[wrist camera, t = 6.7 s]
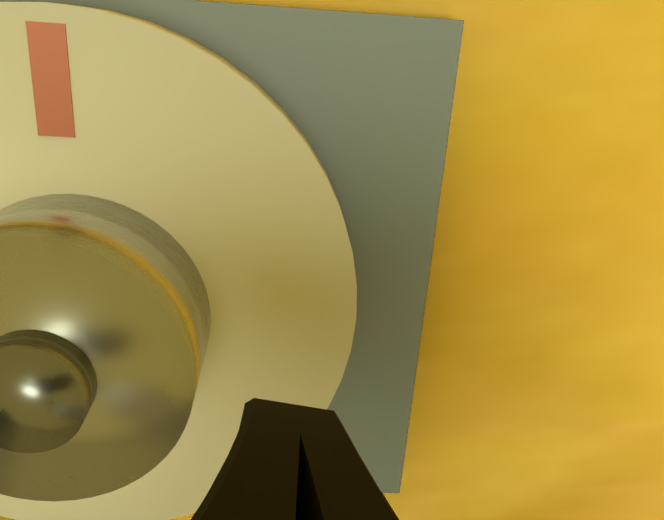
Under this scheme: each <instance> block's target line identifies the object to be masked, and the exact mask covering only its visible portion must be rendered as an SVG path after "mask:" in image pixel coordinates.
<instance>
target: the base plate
mask: <svg viewBox="0 0 664 520" xmlns="http://www.w3.org/2000/svg"><path fill="white" fill-rule="evenodd" d="M0 2H49V3H59V4H69V5H76V6H83V7H90V8H98V9H105V10H111V11H114V12H118V13H122V14H125V15H129V16H132V17H136V18H140V19H143V20H147V21H150V22H153V23H155V24H158V25H160V26H162V27H165V28H167V29H169V30H172V31H174V32H177V33H179V34H181V35H184V36H186V37H188V38H190V39H192V40H194V41H195V42H197V43H199V44H201V45H202V46H204V47H206V48H207V49H209V50H211V51H213V52H214V53H216V54H218V55H220V56H221V57H223V58H225V59H226V60H227V61H229V62H230V63H231V64H233V65H234V66H235V67H236V68H238V69H239V70H240V71H242V72H243V73H244V74H246V75H247V76H248V77H250V78H251V79H252V80H254V81H255V82H256V83H257V84H258V85H259V86H260V87H261V88H262V89H263V90H264V91H265V92H266V93H267V94H268V95H269V96H270V97H271V98H272V99H273V100H274V101H275V102H276V103H277V104H278V105H280V106H281V107H282V108H283V109H284V111H285V112H286V113H287V114H288V116H289V117H290V118H291V120H292V121H293V122H294V123H295V125H296V126H297V127H298V128H299V130H300V131H301V132H302V134H303V135H304V136H305V137H306V139H307V140H308V142H309V144H310V145H311V147H312V149H313V150H314V152H315V154H316V155H317V157H318V159H319V160H320V162H321V164H322V166H323V167H324V169H325V171H326V173H327V176H328V178H329V180H330V183H331V185H332V187H333V190H334V192H335V194H336V197H337V199H338V202H339V205H340V208H341V212H342V215H343V218H344V222H345V226H346V229H347V233H348V237H349V240H350V244H351V248H352V251H353V258H354V266H355V274H356V282H357V312H356V324H355V330H354V336H353V342H352V348H351V352H350V355H349V358H348V362H347V365H346V368H345V371H344V374H343V377H342V380H341V382H340V384H339V386H338V388H337V390H336V392H335V395H334V397H333V399H332V401H331V403H330V405H329V407H328V408H327V410H333V411H335V413H336V414H337V416H338V418H339V419H340V421H341V423H342V424H343V426H344V428H345V430H346V432H347V433H348V435H349V437H350V439H351V441H352V442H353V444H354V446H355V448H356V450H357V451H358V453H359V455H360V457H361V458H362V460H363V462H364V463H365V465H366V467H367V469H368V470H369V472H370V474H371V475H372V477H373V479H374V480H375V482H376V484H377V485H378V487H379V489H380V490H381V492H382V493H399V492H400V485H401V478H402V470H403V463H404V456H405V448H406V441H407V434H408V426H409V419H410V412H411V404H412V397H413V390H414V382H415V375H416V368H417V360H418V353H419V346H420V338H421V331H422V324H423V316H424V309H425V302H426V294H427V287H428V280H429V273H430V265H431V258H432V251H433V243H434V236H435V229H436V221H437V214H438V207H439V199H440V192H441V185H442V177H443V170H444V163H445V155H446V148H447V141H448V133H449V126H450V119H451V111H452V104H453V97H454V89H455V82H456V75H457V67H458V60H459V53H460V46H461V38H462V31H463V24H464V20H452V19H439V18H425V17H412V16H399V15H385V14H372V13H358V12H345V11H332V10H318V9H305V8H292V7H278V6H265V5H252V4H238V3H225V2H212V1H198V0H0Z"/></svg>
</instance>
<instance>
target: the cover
mask: <svg viewBox="0 0 664 520" xmlns="http://www.w3.org/2000/svg"><path fill="white" fill-rule="evenodd" d="M210 323H211V315H210V304H209V300H208V295H207V291H206V288H205V285H204V283H203V280H202V278H201V275H200V273H199V271H198V269H197V268H196V266H195V264H194V262H193V261H192V259H191V258H190V256H189V255H188V254H187V252H186V251H185V250H184V248H183V247H182V246H181V245H180V244H179V243H178V242H177V241H176V240H175V239H174V238H173V237H172V236H171V234H169V233H168V232H167V231H166V230H164V229H163V228H162V227H161V226H160V225H158V224H157V223H156V222H154V221H153V220H151V219H149V218H148V217H146V216H145V215H143V214H141V213H140V212H137V211H135V210H133V209H131V208H129V207H127V206H125V205H122V204H119V203H116V202H113V201H111V200H108V199H103V198H99V197H94V196H90V195H80V194H49V195H42V196H36V197H32V198H28V199H25V200H22V201H18V202H16V203H13V204H11V205H9V206H7V207H5V208H2V209H1V210H0V494H2V495H6V496H10V497H14V498H20V499H27V500H35V501H71V500H79V499H85V498H91V497H95V496H99V495H102V494H106V493H110V492H112V491H115V490H117V489H120V488H122V487H125V486H127V485H129V484H130V483H132V482H134V481H136V480H138V479H140V478H141V477H143V476H144V475H145V474H147V473H148V472H150V471H151V470H152V469H154V468H155V467H156V466H157V465H158V464H159V463H160V462H161V461H162V460H163V459H164V458H165V457H167V455H168V454H169V453H170V451H171V450H172V449H173V448H174V446H175V445H176V444H177V442H178V440H179V439H180V437H181V435H182V433H183V431H184V430H185V427H186V424H187V422H188V419H189V416H190V413H191V409H192V405H193V401H194V397H195V393H196V389H197V385H198V381H199V377H200V373H201V369H202V365H203V361H204V357H205V353H206V348H207V344H208V339H209V335H210Z"/></svg>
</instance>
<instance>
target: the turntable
mask: <svg viewBox="0 0 664 520" xmlns="http://www.w3.org/2000/svg"><path fill="white" fill-rule="evenodd" d="M49 194H80V195H90V196H94V197H99V198H103V199H108V200H111V201H113V202H116V203H119V204H122V205H125V206H127V207H129V208H131V209H133V210H135V211H137V212H140V213H141V214H143V215H145V216H146V217H148V218H149V219H151V220H153V221H154V222H156V223H157V224H158V225H160V226H161V227H162V228H163V229H164V230H166V231H167V232H168V233H169V234H171V236H172V237H173V238H174V239H175V240H176V241H177V242H178V243H179V244H180V245H181V246H182V247H183V248H184V250H185V251H186V252H187V254H188V255H189V256H190V258H191V259H192V261H193V262H194V264H195V266H196V268H197V269H198V271H199V273H200V275H201V278H202V280H203V283H204V285H205V288H206V291H207V295H208V300H209V304H210V315H211V323H210V335H209V339H208V344H207V348H206V353H205V357H204V361H203V365H202V369H201V373H200V377H199V381H198V385H197V389H196V393H195V397H194V401H193V405H192V409H191V413H190V416H189V419H188V422H187V424H186V427H185V430H184V431H183V433H182V435H181V437H180V439H179V440H178V442H177V444H176V445H175V446H174V448H173V449H172V450H171V451H170V453H169V454H168V455H167V457H165V458H164V459H163V460H162V461H161V462H160V463H159V464H158V465H157V466H156V467H155V468H154V469H152V470H151V471H150V472H148V473H147V474H145V475H144V476H143V477H141V478H140V479H138V480H136V481H134V482H132V483H130V484H129V485H127V486H125V487H122V488H120V489H117V490H115V491H112V492H110V493H106V494H102V495H99V496H95V497H91V498H85V499H79V500H71V501H35V500H27V499H20V498H14V497H10V496H6V495H2V494H0V516H3V517H7V518H11V519H15V520H171V519H175V518H179V517H182V516H186V515H190V514H193V513H195V512H196V511H197V509H198V508H199V506H200V505H201V503H202V501H203V500H204V498H205V496H206V495H207V493H208V491H209V490H210V488H211V486H212V484H213V482H214V480H215V478H216V477H217V475H218V473H219V471H220V469H221V467H222V465H223V464H224V462H225V460H226V458H227V456H228V454H229V452H230V450H231V447H232V445H233V443H234V441H235V438H236V436H237V433H238V431H239V427H240V423H241V418H242V414H243V410H244V405H245V403H246V402H248V401H250V400H251V399H253V398H258V399H264V400H271V401H277V402H283V403H289V404H295V405H302V406H308V407H314V408H320V409H327V408H328V407H329V405H330V403H331V401H332V399H333V397H334V395H335V392H336V390H337V388H338V386H339V384H340V382H341V380H342V377H343V374H344V371H345V368H346V365H347V362H348V358H349V355H350V352H351V348H352V342H353V336H354V330H355V324H356V312H357V282H356V274H355V266H354V258H353V251H352V248H351V244H350V240H349V237H348V233H347V229H346V226H345V222H344V218H343V215H342V212H341V208H340V205H339V202H338V199H337V197H336V194H335V192H334V190H333V187H332V185H331V183H330V180H329V178H328V176H327V173H326V171H325V169H324V167H323V166H322V164H321V162H320V160H319V159H318V157H317V155H316V154H315V152H314V150H313V149H312V147H311V145H310V144H309V142H308V140H307V139H306V137H305V136H304V135H303V134H302V132H301V131H300V130H299V128H298V127H297V126H296V125H295V123H294V122H293V121H292V120H291V118H290V117H289V116H288V114H287V113H286V112H285V111H284V109H283V108H282V107H281V106H280V105H278V104H277V103H276V102H275V101H274V100H273V99H272V98H271V97H270V96H269V95H268V94H267V93H266V92H265V91H264V90H263V89H262V88H261V87H260V86H259V85H258V84H257V83H256V82H255V81H254V80H252V79H251V78H250V77H248V76H247V75H246V74H244V73H243V72H242V71H240V70H239V69H238V68H236V67H235V66H234V65H233V64H231V63H230V62H229V61H227V60H226V59H225V58H223V57H221V56H220V55H218V54H216V53H214V52H213V51H211V50H209V49H207V48H206V47H204V46H202V45H201V44H199V43H197V42H195V41H194V40H192V39H190V38H188V37H186V36H184V35H181V34H179V33H177V32H174V31H172V30H169V29H167V28H165V27H162V26H160V25H158V24H155V23H153V22H150V21H147V20H143V19H140V18H136V17H132V16H129V15H125V14H122V13H118V12H114V11H111V10H105V9H98V8H90V7H83V6H76V5H69V4H59V3H49V2H0V210H1V209H2V208H5V207H7V206H9V205H11V204H13V203H16V202H18V201H22V200H25V199H28V198H32V197H36V196H42V195H49Z"/></svg>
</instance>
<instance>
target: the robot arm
mask: <svg viewBox="0 0 664 520" xmlns="http://www.w3.org/2000/svg"><path fill="white" fill-rule="evenodd" d="M191 520H399V519H398V517H397V516H396V514H395V512H394V511H393V509H392V508H391V506H390V505H389V503H388V501H387V500H386V498H385V497H384V495H383V494H382V492H381V490H380V489H379V487H378V485H377V484H376V482H375V480H374V479H373V477H372V475H371V474H370V472H369V470H368V469H367V467H366V465H365V463H364V462H363V460H362V458H361V457H360V455H359V453H358V451H357V450H356V448H355V446H354V444H353V442H352V441H351V439H350V437H349V435H348V433H347V432H346V430H345V428H344V426H343V424H342V423H341V421H340V419H339V418H338V416H337V414H336V413H335V411H333V410H327V409H320V408H314V407H308V406H302V405H295V404H289V403H283V402H277V401H271V400H264V399H258V398H253V399H251V400H250V401H248V402H246V403H245V405H244V410H243V414H242V418H241V423H240V427H239V431H238V433H237V436H236V438H235V441H234V443H233V445H232V447H231V450H230V452H229V454H228V456H227V458H226V460H225V462H224V464H223V465H222V467H221V469H220V471H219V473H218V475H217V477H216V478H215V480H214V482H213V484H212V486H211V488H210V490H209V491H208V493H207V495H206V496H205V498H204V500H203V501H202V503H201V505H200V506H199V508H198V509H197V511H196V512H195V514H194V515H193V517H192V519H191Z"/></svg>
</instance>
